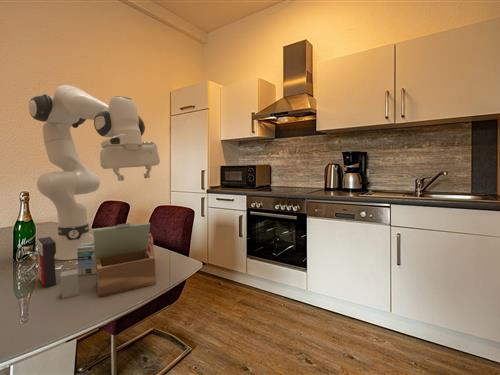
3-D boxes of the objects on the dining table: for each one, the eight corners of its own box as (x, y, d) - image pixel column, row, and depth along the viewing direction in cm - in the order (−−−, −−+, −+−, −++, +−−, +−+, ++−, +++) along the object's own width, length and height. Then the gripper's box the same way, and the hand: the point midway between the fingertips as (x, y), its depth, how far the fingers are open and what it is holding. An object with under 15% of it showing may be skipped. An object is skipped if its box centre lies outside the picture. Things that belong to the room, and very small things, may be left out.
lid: (94, 259, 92) (94, 256, 94) (148, 250, 102) (147, 247, 103) (94, 230, 86) (93, 227, 87) (150, 223, 95) (149, 221, 97)
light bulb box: (77, 275, 101) (76, 247, 100) (83, 269, 107) (82, 242, 107) (109, 272, 104) (107, 245, 103) (113, 266, 110) (111, 240, 110)
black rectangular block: (38, 279, 98) (35, 238, 97) (52, 275, 101) (50, 236, 100) (43, 288, 91) (39, 244, 89) (58, 284, 94) (55, 241, 92)
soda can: (147, 265, 110) (146, 236, 109) (132, 264, 112) (131, 236, 111) (157, 260, 117) (156, 232, 116) (142, 259, 119) (141, 232, 118)
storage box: (96, 283, 94) (95, 258, 93) (148, 272, 103) (147, 249, 102) (99, 297, 83) (97, 268, 83) (155, 283, 93) (154, 258, 92)
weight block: (62, 293, 87) (61, 272, 86) (79, 289, 89) (77, 268, 89) (61, 298, 83) (60, 276, 83) (79, 294, 86) (77, 273, 85)
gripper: (152, 143, 107) (157, 177, 108) (95, 143, 93) (101, 183, 93) (159, 139, 103) (165, 175, 103) (101, 139, 88) (107, 181, 89)
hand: (134, 179), depth 98 cm, fingers open, 8 cm apart
